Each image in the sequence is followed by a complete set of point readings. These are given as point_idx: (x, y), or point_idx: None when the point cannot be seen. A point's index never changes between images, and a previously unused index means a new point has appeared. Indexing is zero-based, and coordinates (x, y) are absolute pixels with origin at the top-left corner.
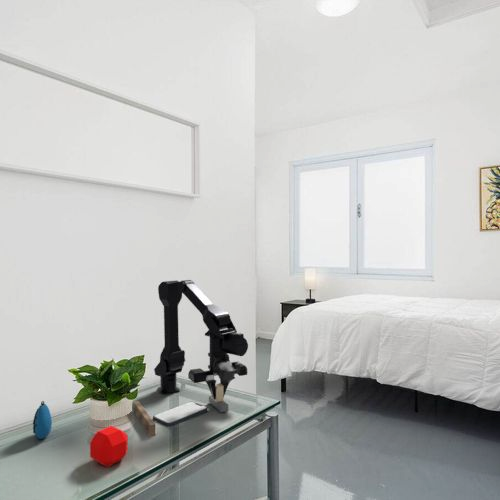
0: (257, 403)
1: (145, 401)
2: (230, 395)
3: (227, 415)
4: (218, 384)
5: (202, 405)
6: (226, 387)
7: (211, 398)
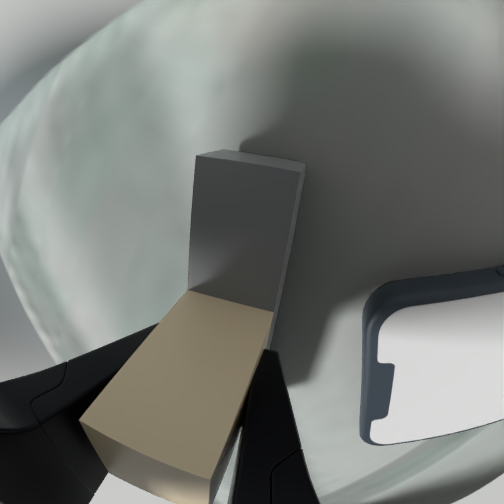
0: (17, 180)
1: (449, 497)
2: None
3: (278, 87)
4: (141, 480)
5: (371, 370)
6: (62, 370)
7: None
